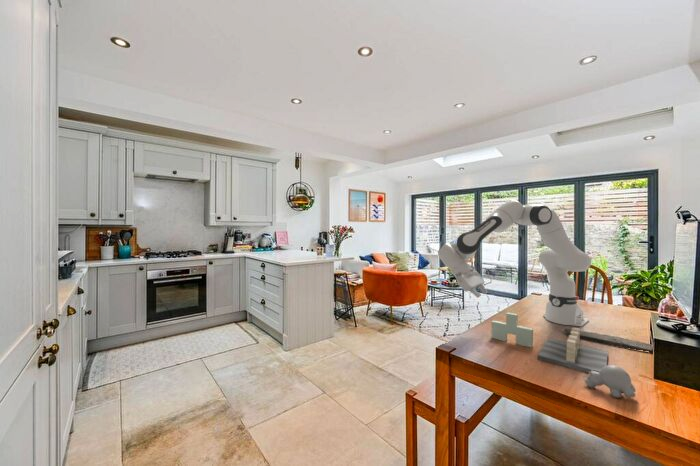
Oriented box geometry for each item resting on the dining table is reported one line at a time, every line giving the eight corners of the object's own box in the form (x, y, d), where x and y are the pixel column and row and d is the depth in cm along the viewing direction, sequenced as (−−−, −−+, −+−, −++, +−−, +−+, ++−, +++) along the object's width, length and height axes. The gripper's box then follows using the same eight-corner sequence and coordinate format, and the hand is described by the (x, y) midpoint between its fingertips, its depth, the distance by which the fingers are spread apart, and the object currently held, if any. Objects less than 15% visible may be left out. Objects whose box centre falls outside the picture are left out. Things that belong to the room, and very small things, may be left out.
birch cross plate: (548, 341, 131) (548, 321, 131) (607, 354, 118) (608, 332, 117) (537, 359, 113) (538, 336, 113) (606, 377, 100) (606, 351, 100)
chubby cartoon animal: (592, 390, 97) (580, 363, 99) (639, 391, 88) (626, 361, 91) (587, 398, 92) (575, 369, 94) (637, 400, 84) (622, 368, 86)
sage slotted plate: (491, 337, 135) (491, 310, 134) (492, 336, 136) (493, 309, 136) (531, 347, 124) (532, 318, 124) (532, 345, 126) (533, 317, 125)
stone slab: (565, 326, 146) (651, 340, 126) (565, 332, 146) (652, 347, 126) (563, 331, 138) (654, 347, 118) (563, 338, 138) (654, 355, 118)
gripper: (459, 270, 135) (480, 294, 129) (474, 265, 150) (494, 287, 144) (449, 278, 138) (469, 302, 132) (465, 273, 153) (484, 295, 147)
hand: (482, 294), depth 138 cm, fingers open, 8 cm apart
